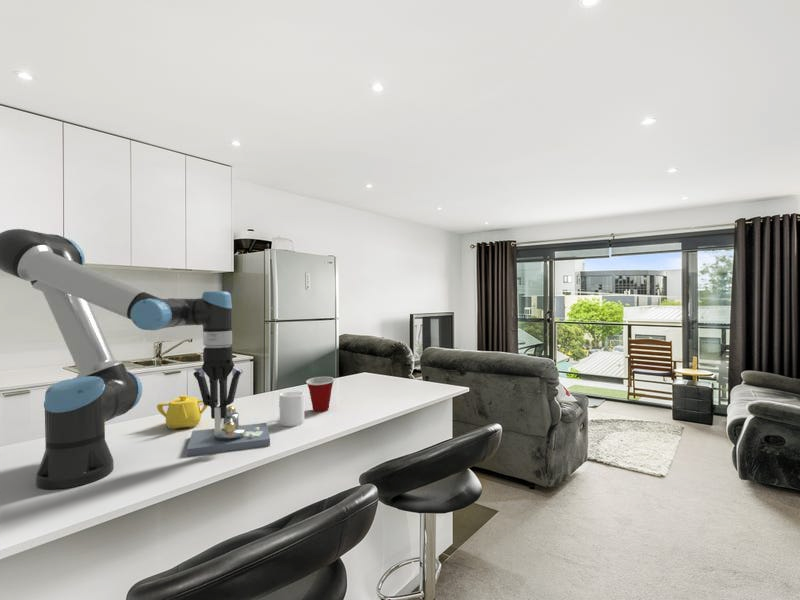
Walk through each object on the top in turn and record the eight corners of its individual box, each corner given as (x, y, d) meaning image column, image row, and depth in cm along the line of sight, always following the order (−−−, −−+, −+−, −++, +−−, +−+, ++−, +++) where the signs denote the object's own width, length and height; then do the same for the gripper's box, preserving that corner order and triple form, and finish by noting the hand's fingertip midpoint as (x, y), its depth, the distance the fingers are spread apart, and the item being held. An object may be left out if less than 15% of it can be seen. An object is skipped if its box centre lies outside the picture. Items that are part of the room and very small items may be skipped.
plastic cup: (300, 411, 161) (299, 380, 161) (318, 405, 170) (318, 375, 170) (322, 415, 156) (322, 383, 156) (340, 408, 165) (340, 377, 165)
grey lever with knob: (215, 425, 136) (215, 406, 136) (245, 422, 140) (245, 403, 140) (212, 447, 117) (211, 425, 117) (246, 443, 120) (246, 421, 120)
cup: (288, 428, 141) (287, 398, 141) (269, 421, 149) (269, 392, 149) (309, 422, 147) (308, 393, 147) (290, 416, 155) (290, 388, 155)
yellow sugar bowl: (214, 423, 147) (214, 393, 147) (180, 434, 136) (180, 402, 136) (187, 418, 153) (187, 390, 153) (153, 428, 142) (153, 397, 142)
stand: (186, 456, 117) (186, 444, 117) (192, 437, 133) (192, 427, 133) (270, 445, 125) (269, 434, 125) (266, 428, 141) (266, 419, 141)
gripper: (188, 348, 115) (189, 434, 115) (237, 347, 116) (238, 433, 116) (199, 344, 122) (201, 426, 123) (245, 344, 123) (246, 425, 123)
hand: (219, 429), depth 119 cm, fingers closed
